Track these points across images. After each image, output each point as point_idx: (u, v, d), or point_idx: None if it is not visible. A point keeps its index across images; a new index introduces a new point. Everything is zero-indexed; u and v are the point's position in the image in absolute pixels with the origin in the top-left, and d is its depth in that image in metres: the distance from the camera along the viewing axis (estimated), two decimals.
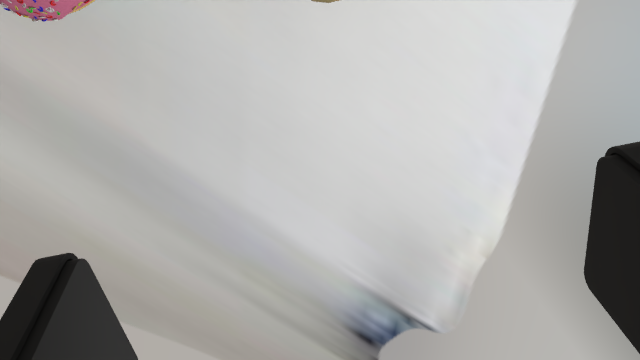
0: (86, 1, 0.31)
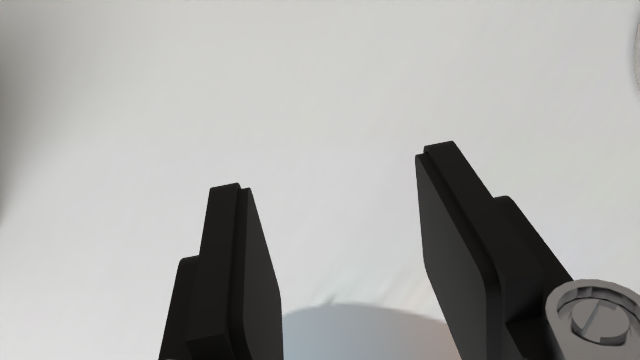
0: None
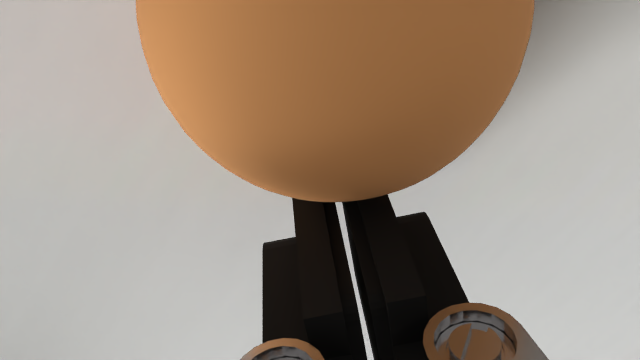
0: None
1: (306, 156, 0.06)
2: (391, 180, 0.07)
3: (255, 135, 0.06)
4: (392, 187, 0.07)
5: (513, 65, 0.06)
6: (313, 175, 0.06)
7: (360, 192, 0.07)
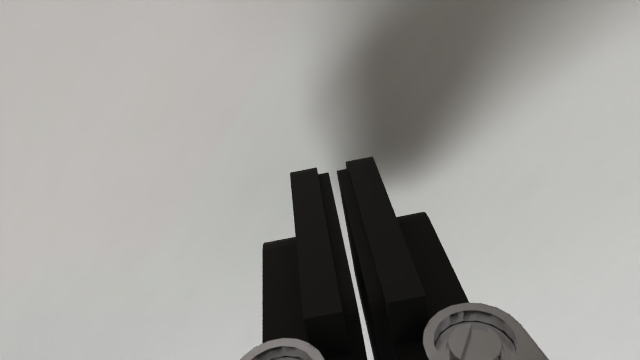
0: None
1: None
2: None
3: None
4: None
5: None
6: None
7: None
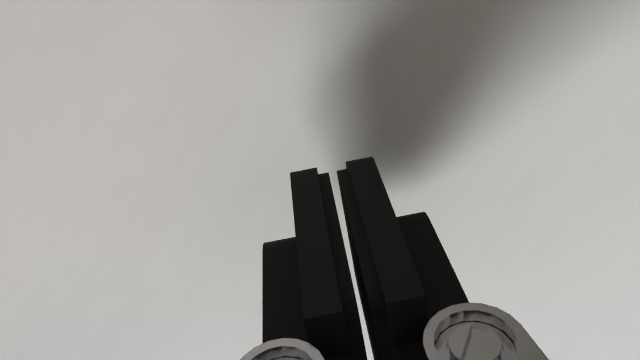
0: None
1: None
2: None
3: None
4: None
5: None
6: None
7: None
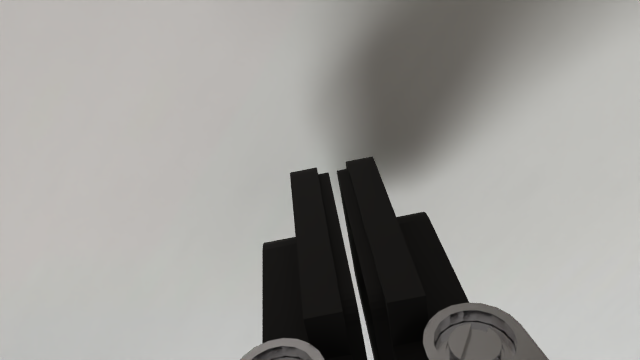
0: None
1: None
2: None
3: None
4: None
5: None
6: None
7: None
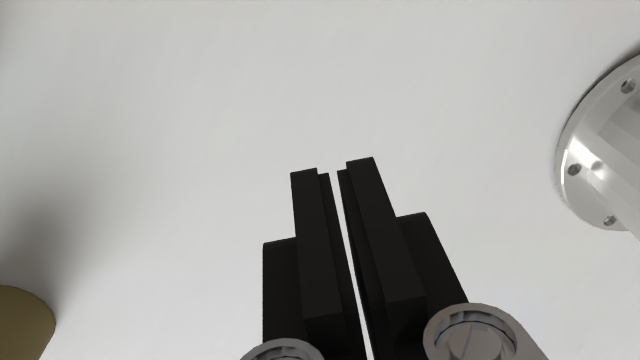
0: None
1: None
2: None
3: None
4: None
5: None
6: None
7: None
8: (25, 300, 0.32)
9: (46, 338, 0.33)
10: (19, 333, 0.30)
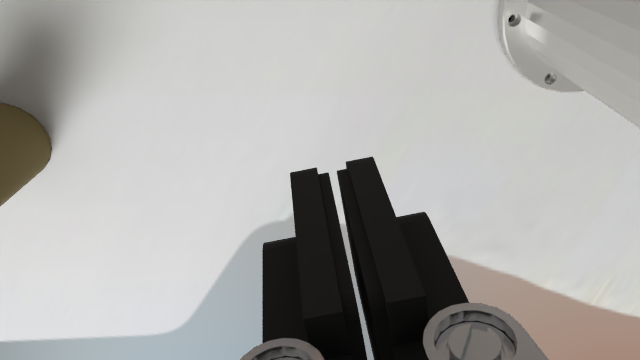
0: None
1: None
2: None
3: None
4: None
5: None
6: None
7: None
8: (25, 118, 0.36)
9: (42, 156, 0.37)
10: (18, 139, 0.35)
